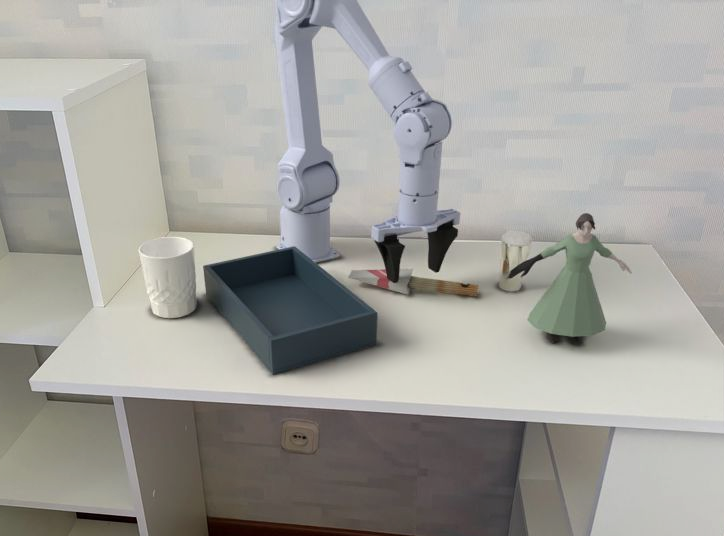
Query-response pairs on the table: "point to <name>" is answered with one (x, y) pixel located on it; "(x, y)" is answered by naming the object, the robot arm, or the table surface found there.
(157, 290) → the white cup
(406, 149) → the robot arm
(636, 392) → the table surface
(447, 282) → the paintbrush
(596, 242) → the character figurine
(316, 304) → the tub
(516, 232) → the milkshake
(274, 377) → the table surface
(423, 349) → the table surface
